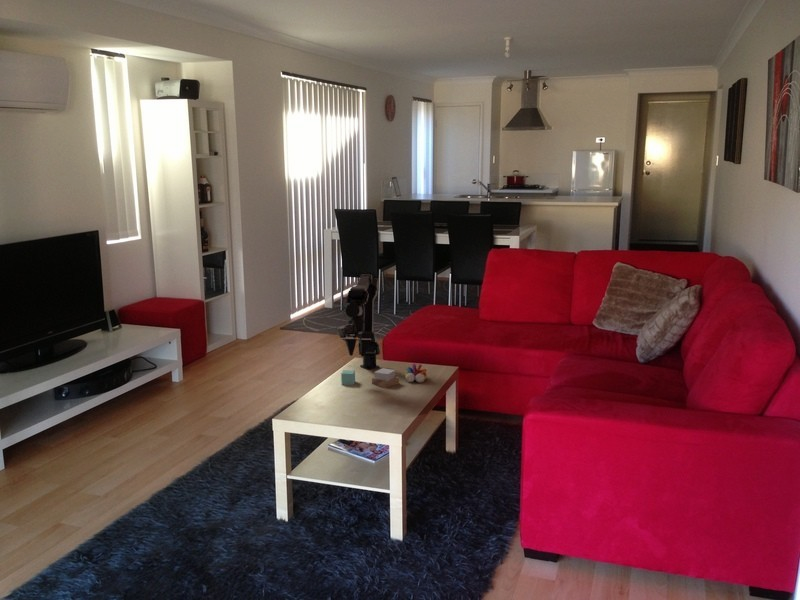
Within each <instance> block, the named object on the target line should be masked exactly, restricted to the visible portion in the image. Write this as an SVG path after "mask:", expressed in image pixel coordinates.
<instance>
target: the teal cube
mask: <svg viewBox="0 0 800 600" xmlns="http://www.w3.org/2000/svg"><path fill="white" fill-rule="evenodd" d="M340 376H341V377H340V378H341V386H355V383H356V371H355V369H352V370H351V369H348V370H347V369H343V370H342V372H341V374H340Z"/></svg>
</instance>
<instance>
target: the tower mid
mask: <svg viewBox="0 0 800 600" xmlns="http://www.w3.org/2000/svg"><path fill="white" fill-rule="evenodd" d="M396 374H397V370H396V369H390V368H384V367H383V368H380V369H378V370H376V371H374V376H373V378H374V379H377V380H384V381H389V380H391V379H393V378H395V377H397V375H396Z"/></svg>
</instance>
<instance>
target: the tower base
mask: <svg viewBox="0 0 800 600" xmlns="http://www.w3.org/2000/svg"><path fill="white" fill-rule="evenodd" d="M371 385H375V386H378V387H381V388H384V389H385V388H386V389H387V388H389V387H392V386H395V385H400V377H397V376H396V377H395V378H393V379H391V380H389V381H384V380H377V379H374V377H372V378H371Z"/></svg>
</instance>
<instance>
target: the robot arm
mask: <svg viewBox="0 0 800 600" xmlns="http://www.w3.org/2000/svg"><path fill="white" fill-rule="evenodd" d="M357 281H358V282H357V284H356V285H354V286H352V287H350V289H349V290H348V292H347V297H346V304H347V306H346V308H345V315H347V317H348V318H350V320H348V321H347V324H345V325H342V326H339V327H337V332H338V336H339V338H341V340H342V341H344V342H345V345H346V347H347V350H348V353H349V356H351V357H352V356H353V355H354V352H355V348H356V344H357V341H358V345H357V346H358V354H359V355H360V357H362V364H360V365H359V366H360V368H363V369H365V370H370V369H375V368H379V367H380V365H377V356H378V355H380V354H381V347H380V345H379V343H378V338H377V336H376V334H375V332H374V321H375V320H374V314H375V313H374V310H375V309H374V307H375V306H374V305H375V299H376V297H377V296H378V291H379V290H380V283H379V281H378V279H377V278H375V277H374V276H373V275H372V274H367V273H365V274H364V273H363V274H360V275H359V279H358V280H357ZM357 338H358V339H357Z"/></svg>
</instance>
